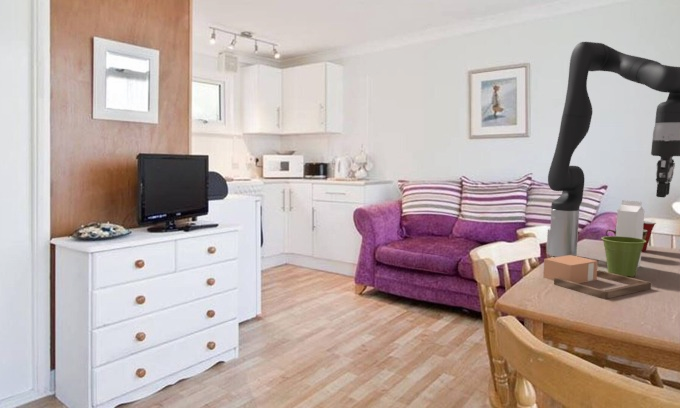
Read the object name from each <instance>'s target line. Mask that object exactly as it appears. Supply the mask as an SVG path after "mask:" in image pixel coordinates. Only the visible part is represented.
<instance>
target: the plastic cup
mask: <svg viewBox="0 0 680 408" xmlns="http://www.w3.org/2000/svg"><path fill="white" fill-rule="evenodd" d="M656 224H657V222H656V221H649V220H644V224H643V229H644V230H647V235H646V238H645V240H646V243H644V246H643V249H642V250H641V252H646V251H647V249H648V244H649V241H650V239H651V234H652V233H653V232H652V231H653V229H654V228H655V225H656Z"/></svg>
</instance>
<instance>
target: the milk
mask: <svg viewBox="0 0 680 408" xmlns="http://www.w3.org/2000/svg"><path fill="white" fill-rule="evenodd" d="M642 203H643V202H642V201H637V200H636V201H635V200H626V199H625V200H621V205H620V206H619V208H618V209H617V213H616V226H615V228H616V230H615V231H616V236H619V237H632V238H638V239H642V237H643V224H644V221H645V209H644V208H643V207H642V205H643V204H642ZM641 261H642V253H641V254H640V258H639V262H638V266H637V268H639V267H641V263H642V262H641Z"/></svg>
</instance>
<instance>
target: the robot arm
mask: <svg viewBox="0 0 680 408" xmlns="http://www.w3.org/2000/svg"><path fill="white" fill-rule="evenodd" d="M569 59H570V60H569V61H570V62H569V66H568V67H569V69H568V77H567V78H568V81H567V88H566V89H567V90H566V95H565V101H564V107H563V111H562V116H561V121H560V126H559V132H558V137H557V141H556V145H555V146H556V147H555V150H554V153H553V157H552V160H551V163H550V166H549V169H548V175H547V184H548V187H549V188H550V189H551V190H552V191H554V192H561V195H560V196H559V197H558V198H556V199H554V200H553V201H551V205H550V206H551V207H550V208H551V209H550V224H549V225H550V226H549V227H550V228H547V236H546V237H547V238H546V239H547V240H546V255H549V256H551V257H553V258H554V257H561V256H567V255H573V256H577V252H578V241H579V240H578V239H579V238H578V236H579V219H580V207H581V204H582V202H583V196H584V189H585V173H584V170H583V168H582V167H580V166H579V165H570V164H571V160H572V157H573V154H574V152H575V151H576V149H577V148H578V146H579V145H580V144H581V143H582V142H583V140H584V138H586V135H587V134H588V132H589V130H590V127H591V123H592V116H593V105H592V102H591V98H590V96H589V93H588V89H587V87H588V86H587V84H588V83H587V82H588V75H589V72H599V71H600V72H610V73H614V74H618V75H619V76H621V77H622V78H623V79H625V80H627V81H630V82H632V83H633V82H634V83H637V84H640V85H644V86H646V87H648V88H650V89H652V90H654V91H657V92H661V93H666V94H667V93H668V96H667V99H666V101H663V102H660V103H659V104H658V105H657V106H656V110H655V111H656V112H655V119H654V120H655V121H654V126H653V132H652V138H651V139H652V141H651V152H650V155H651V156H653V157H660V159H659V160H658V161H657V163H656V172H655V175H656V176H655V177H656V178H655V182H656V184H657V185H656V192H655V193H656V195H655V196H656V197H657V198H665V197H666V196H669V195H670V189H671V188H670V187H671V182H672V181H673V176H674V171H675V168H676V163H675V159H673V157H680V66H674V65H673V66H671V65H666V64H662V63H661V62H659V61H657V60H653V59H650V58H649V59H648V58H645V57H640V56H636V55H631V54H626V53H624V52H621V51H619V50H617V49H614V48H613V47H610V46H608V44H605V43H602V42H593V41H592V42H591V41H580V42H578V43H577V44H576V45H575V47H573V49H572V52H571V55H570V58H569ZM577 257H578V256H577Z"/></svg>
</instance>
